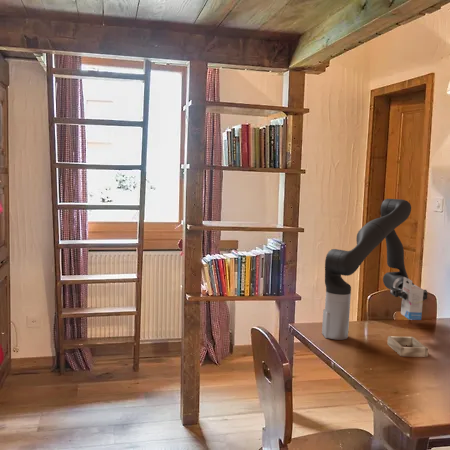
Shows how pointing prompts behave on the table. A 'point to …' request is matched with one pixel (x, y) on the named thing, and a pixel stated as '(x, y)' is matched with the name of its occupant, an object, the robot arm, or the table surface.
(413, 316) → the ink box
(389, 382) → the table surface
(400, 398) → the table surface
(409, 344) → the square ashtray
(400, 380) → the table surface
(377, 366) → the table surface
